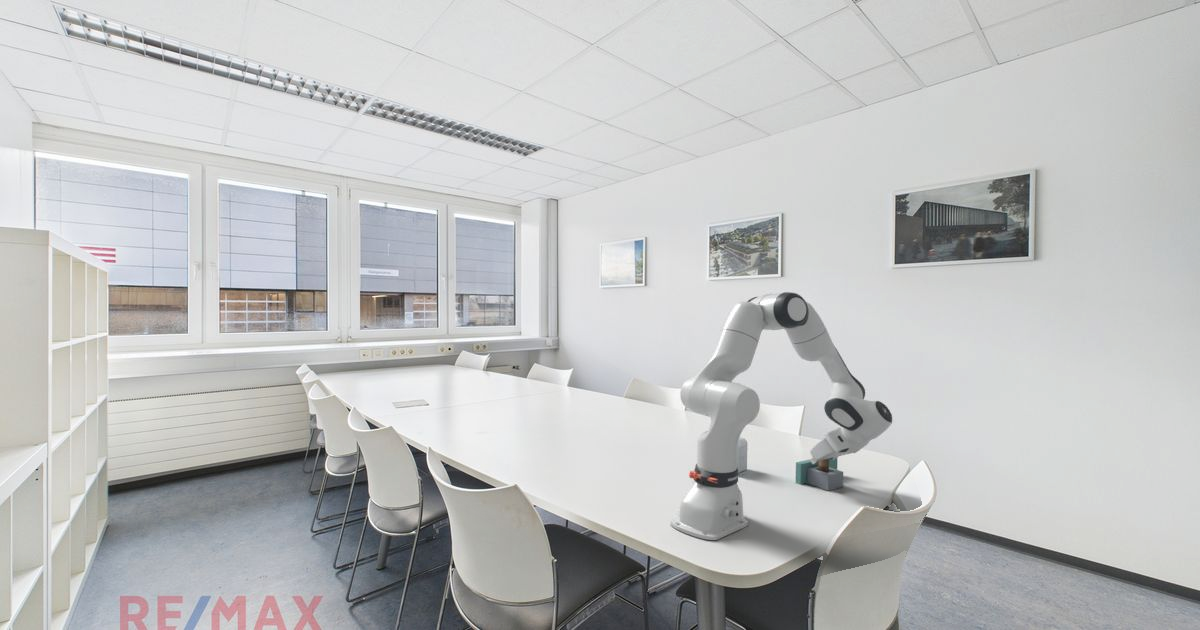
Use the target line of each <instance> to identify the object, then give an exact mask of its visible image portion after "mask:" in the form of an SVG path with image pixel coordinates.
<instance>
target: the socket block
mask: <svg viewBox="0 0 1200 630" xmlns="http://www.w3.org/2000/svg"><path fill="white" fill-rule="evenodd" d="M818 467H819V466H815V467H810V468H807V483H806V484H809V485H812V486H814V487H816V488H821V489H822V490H825V491H833V490H835V489H836V490H837V489H839V488H843V487H844V471H842V470H839V469H837V470H836V469H833V468H830V467H829V473H825V472H822V471H819V470H818Z"/></svg>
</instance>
